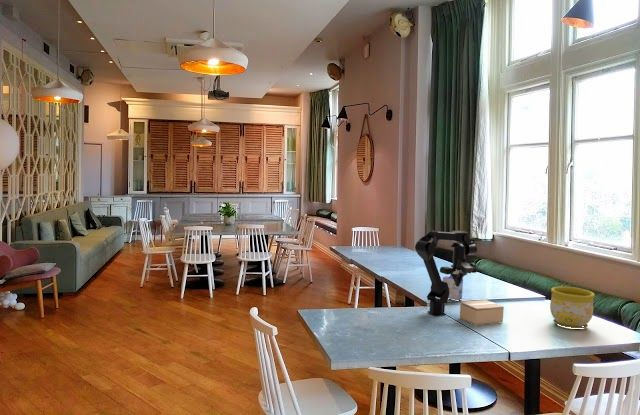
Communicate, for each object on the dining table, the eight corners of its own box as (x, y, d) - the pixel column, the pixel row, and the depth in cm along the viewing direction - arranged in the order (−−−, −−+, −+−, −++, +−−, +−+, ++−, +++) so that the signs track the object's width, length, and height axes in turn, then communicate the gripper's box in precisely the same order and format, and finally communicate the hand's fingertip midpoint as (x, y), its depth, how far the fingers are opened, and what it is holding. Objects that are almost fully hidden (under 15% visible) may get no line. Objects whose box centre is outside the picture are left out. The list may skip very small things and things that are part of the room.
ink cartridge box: (462, 300, 270) (463, 274, 268) (458, 302, 265) (460, 275, 264) (445, 297, 276) (446, 271, 274) (441, 298, 271) (442, 272, 270)
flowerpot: (597, 334, 220) (600, 297, 218) (554, 330, 223) (556, 294, 222) (584, 321, 237) (587, 288, 236) (544, 318, 241) (546, 285, 239)
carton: (475, 325, 226) (476, 310, 226) (459, 318, 237) (460, 303, 236) (502, 322, 232) (503, 307, 231) (485, 315, 243) (486, 301, 242)
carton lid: (476, 309, 225) (476, 308, 225) (460, 302, 236) (460, 301, 236) (503, 307, 231) (503, 306, 231) (486, 301, 242) (486, 299, 242)
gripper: (453, 259, 238) (452, 291, 239) (484, 258, 245) (483, 289, 246) (439, 255, 248) (438, 286, 249) (470, 254, 255) (468, 284, 256)
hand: (457, 286), depth 250 cm, fingers closed
